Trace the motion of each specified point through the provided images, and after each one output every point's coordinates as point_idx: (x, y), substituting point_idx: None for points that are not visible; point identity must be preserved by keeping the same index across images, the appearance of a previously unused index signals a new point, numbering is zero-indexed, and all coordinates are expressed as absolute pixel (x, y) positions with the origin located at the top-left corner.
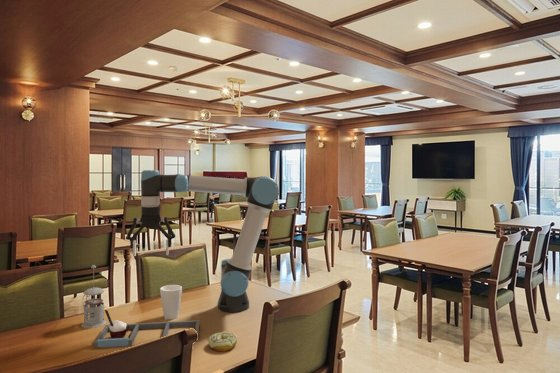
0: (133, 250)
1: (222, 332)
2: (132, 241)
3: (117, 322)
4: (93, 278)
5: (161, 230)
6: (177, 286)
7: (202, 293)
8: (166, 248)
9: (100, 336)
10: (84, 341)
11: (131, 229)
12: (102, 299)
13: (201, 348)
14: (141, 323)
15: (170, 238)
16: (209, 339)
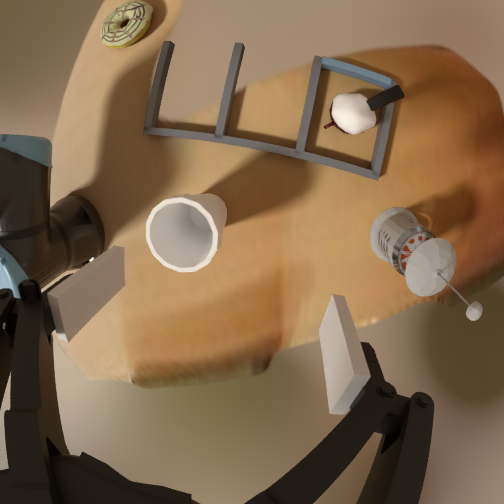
0: (350, 319)
1: (116, 38)
2: (369, 382)
3: (357, 107)
4: (453, 288)
5: (27, 378)
6: (161, 254)
7: (139, 340)
8: (96, 266)
9: (387, 108)
10: (414, 130)
11: (408, 484)
12: (399, 261)
13: (169, 16)
14: (289, 154)
15: (19, 284)
16: (147, 16)
